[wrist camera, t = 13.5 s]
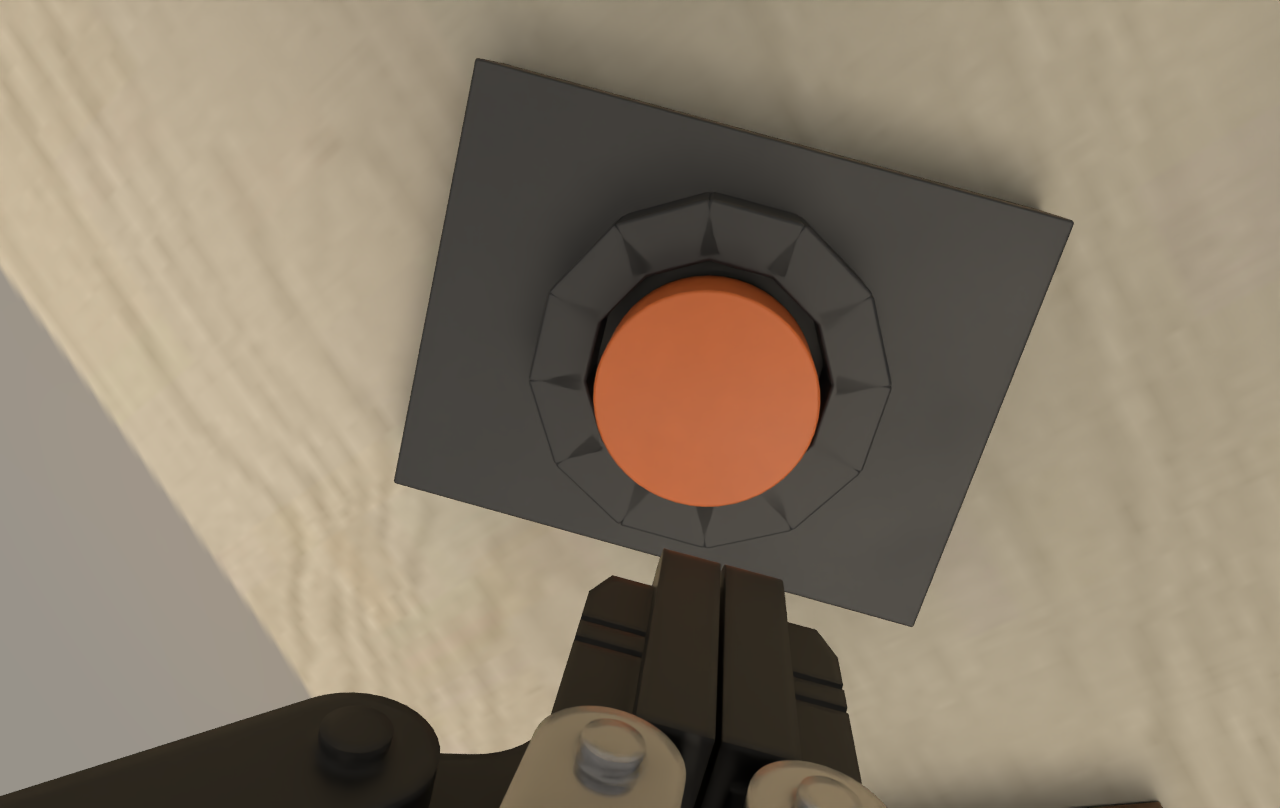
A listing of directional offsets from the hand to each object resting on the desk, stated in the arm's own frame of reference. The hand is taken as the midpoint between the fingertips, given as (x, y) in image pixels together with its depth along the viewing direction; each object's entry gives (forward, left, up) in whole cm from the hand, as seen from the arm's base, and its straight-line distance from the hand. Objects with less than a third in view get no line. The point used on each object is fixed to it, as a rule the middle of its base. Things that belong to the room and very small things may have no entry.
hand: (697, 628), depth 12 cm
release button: (0, -1, -9) cm, 9 cm away
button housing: (0, -1, -13) cm, 13 cm away
